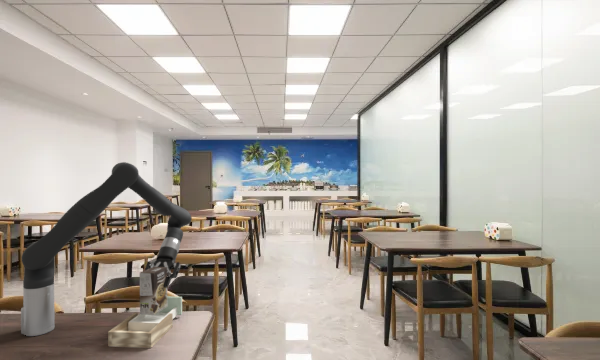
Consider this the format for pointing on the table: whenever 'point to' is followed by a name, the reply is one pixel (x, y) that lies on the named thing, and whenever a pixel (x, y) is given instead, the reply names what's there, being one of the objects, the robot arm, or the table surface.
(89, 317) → the table surface
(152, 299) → the coffee box
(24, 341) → the table surface
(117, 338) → the box
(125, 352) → the table surface
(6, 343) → the table surface
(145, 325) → the drawer
